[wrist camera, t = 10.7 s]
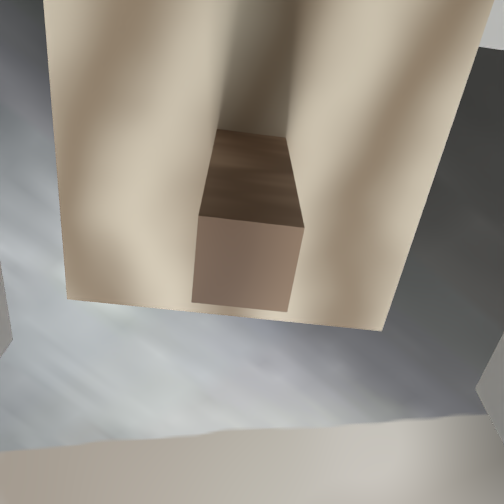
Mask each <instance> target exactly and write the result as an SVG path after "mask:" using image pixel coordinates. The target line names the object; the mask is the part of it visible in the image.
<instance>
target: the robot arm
mask: <svg viewBox="0 0 504 504" xmlns="http://www.w3.org/2000/svg"><path fill="white" fill-rule="evenodd" d="M12 340H13V338H12V331H11V325H10V319H9V313H8V307H7V300H6V294H5V288H4V282H3V276H2V269H1V263H0V358H1V356H2V355H3V353H4V352H5V350H6V349H7V347H8V346H9V344H10V343H11V341H12ZM475 390H476V392H477V394H478V396H479V398H480V400H481V402H482V404H483V406H484V408H485V409H486V411H487V413H488V415H489V417H490V419H491V421H492V423H493V425H494V427H495V429H496V431H497V433H498V435H499V437H500V439H501V441H502V443H503V444H504V333H503V335H502V337H501V339H500V341H499V343H498V345H497V347H496V349H495V351H494V353H493V355H492V357H491V359H490V361H489V362H488V364H487V366H486V368H485V370H484V372H483V374H482V376H481V378H480V380H479V382H478V384H477V386H476V388H475Z"/></svg>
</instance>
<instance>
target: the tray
mask: <svg viewBox="0 0 504 504" xmlns="http://www.w3.org/2000/svg"><path fill="white" fill-rule="evenodd" d="M479 47H486V48H493V49H500V50H504V0H494V3H493V6H492V9H491V12H490V15H489V17H488V20H487V23H486V26H485V29H484V32H483V35H482V38H481V41H480V44H479Z"/></svg>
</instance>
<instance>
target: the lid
mask: <svg viewBox="0 0 504 504" xmlns="http://www.w3.org/2000/svg"><path fill="white" fill-rule="evenodd" d="M43 2H44V14H45V27H46V39H47V52H48V64H49V77H50V90H51V102H52V115H53V127H54V140H55V152H56V165H57V177H58V190H59V202H60V215H61V227H62V240H63V252H64V265H65V277H66V290H67V299H71V300H80V301H90V302H100V303H110V304H120V305H130V306H140V307H149V308H159V309H169V310H179V311H189V312H199V313H208V314H218V315H228V316H238V317H248V318H258V319H268V320H277V321H287V322H297V323H307V324H317V325H327V326H336V327H346V328H356V329H366V330H376V331H382V329H383V326H384V323H385V320H386V317H387V314H388V311H389V308H390V305H391V302H392V299H393V297H394V294H395V291H396V288H397V285H398V282H399V279H400V276H401V273H402V270H403V267H404V264H405V261H406V258H407V255H408V252H409V250H410V247H411V244H412V241H413V238H414V235H415V232H416V229H417V226H418V223H419V220H420V217H421V214H422V211H423V208H424V205H425V203H426V200H427V197H428V194H429V191H430V188H431V185H432V182H433V179H434V176H435V173H436V170H437V167H438V164H439V161H440V158H441V156H442V153H443V150H444V147H445V144H446V141H447V138H448V135H449V132H450V129H451V126H452V123H453V120H454V117H455V114H456V111H457V109H458V106H459V103H460V100H461V97H462V94H463V91H464V88H465V85H466V82H467V79H468V76H469V73H470V70H471V67H472V64H473V62H474V59H475V56H476V53H477V50H478V47H479V44H480V41H481V38H482V35H483V32H484V29H485V26H486V23H487V20H488V17H489V15H490V12H491V9H492V6H493V3H494V0H43Z"/></svg>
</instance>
